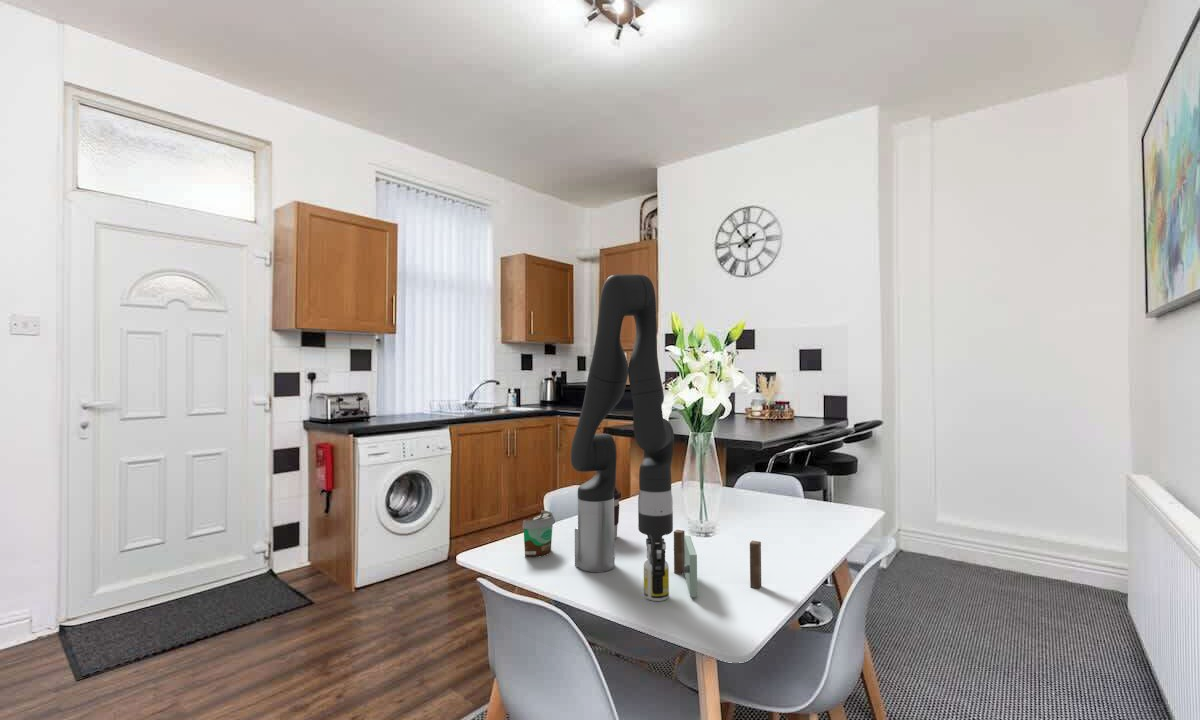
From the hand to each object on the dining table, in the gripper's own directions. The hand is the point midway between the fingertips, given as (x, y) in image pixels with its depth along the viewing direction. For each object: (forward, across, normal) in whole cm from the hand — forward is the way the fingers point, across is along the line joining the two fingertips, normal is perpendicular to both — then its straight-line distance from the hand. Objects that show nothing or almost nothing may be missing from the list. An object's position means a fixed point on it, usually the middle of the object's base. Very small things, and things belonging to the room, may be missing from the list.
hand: (656, 587), depth 120 cm
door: (+1, +5, -8) cm, 10 cm away
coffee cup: (+2, +43, +11) cm, 45 cm away
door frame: (+2, +10, -15) cm, 18 cm away
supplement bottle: (+2, 0, 0) cm, 2 cm away
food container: (+2, +30, +28) cm, 41 cm away
